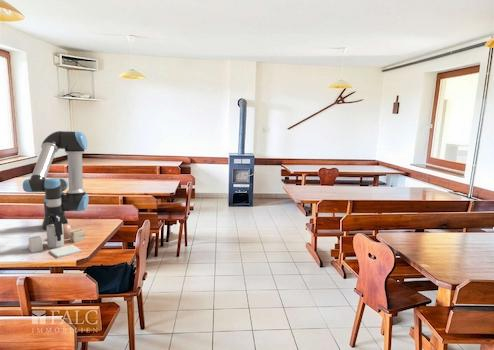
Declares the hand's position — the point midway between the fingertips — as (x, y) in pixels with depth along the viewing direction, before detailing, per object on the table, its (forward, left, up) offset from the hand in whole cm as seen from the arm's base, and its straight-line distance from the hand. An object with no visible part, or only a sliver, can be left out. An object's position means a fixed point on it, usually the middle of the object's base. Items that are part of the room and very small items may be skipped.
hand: (55, 244), depth 184 cm
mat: (+14, 0, -1) cm, 14 cm away
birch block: (0, +12, -1) cm, 12 cm away
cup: (0, 0, -1) cm, 1 cm away
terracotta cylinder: (-10, +9, -1) cm, 13 cm away
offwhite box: (0, -10, -1) cm, 10 cm away
